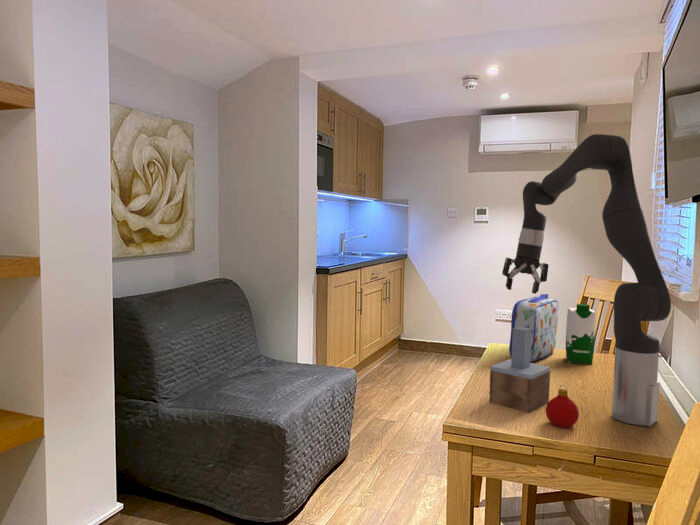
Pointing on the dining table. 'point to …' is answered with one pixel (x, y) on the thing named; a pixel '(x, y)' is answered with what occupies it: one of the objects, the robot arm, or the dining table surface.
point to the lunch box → (537, 324)
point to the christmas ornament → (562, 410)
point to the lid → (521, 357)
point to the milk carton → (580, 334)
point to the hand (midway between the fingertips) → (521, 291)
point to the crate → (519, 391)
